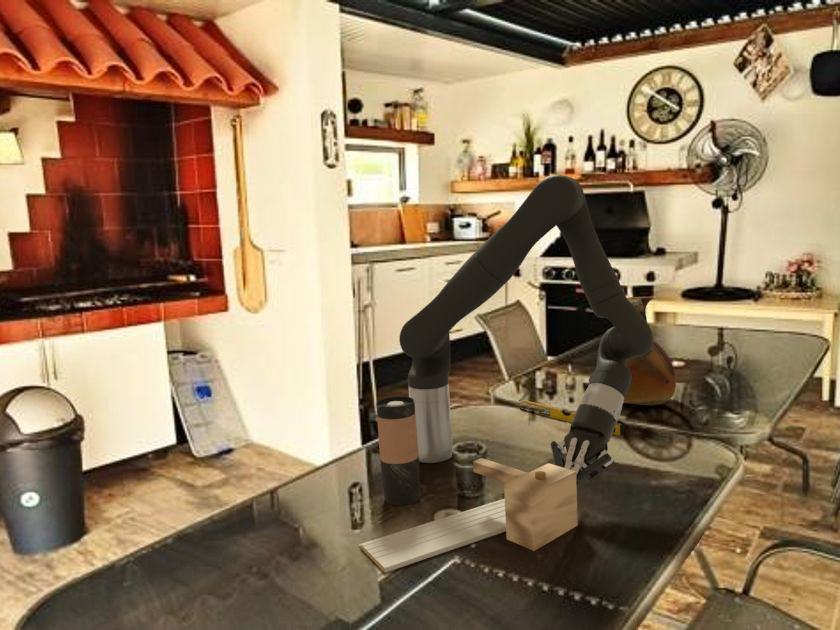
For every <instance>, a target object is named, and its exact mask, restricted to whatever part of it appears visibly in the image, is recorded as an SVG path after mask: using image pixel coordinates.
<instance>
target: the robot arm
mask: <svg viewBox="0 0 840 630" xmlns="http://www.w3.org/2000/svg"><path fill="white" fill-rule="evenodd" d="M590 214H591V213H590V211H589V207H588V202H587V199H586V196H585V192H584V189H583V187H582V185H581V184H580V183H579V181H578V180H576V179H575V178H573V177H570V176H567V175H563V174H551V175H549V176H546V177H544V178H542V179H541V180H540V181H539V182H538V183H537V184H536V185H535V186H534V188H533V189H532V191H530V193H529V195H527V197H526V198H525V200H523V202H522V204H521V205H520V206H519V207H518V209H517V210H516V211H515V212H514V213H513V215H512V216H511V217H510V218H509V219H508V220H507V221H506V222H505V223H504V224H503V225H502V226H501V227H500V228H499V229H497V230H496V231H495V232H494V233H492V235H491V236H490V237H489V238H488V239H486V240H485V241H484V243H483V244H482V245H480V246H479V247H478V248H477V249H476V251H474V253H473V254H472V255H471V256H470V257H469V258H468V259H467V260H466V261H465V262H464V263H463V264H462V266H461V267H459V269H458V270H457V271H456V273H454V275H453V276H452V277H451V278H450V279H449V280H448V281H447V283H446V284H445V285H444V287H442V289H441V290H440V291H439V293H438V294H436V296H435V297H434V298H433V299H432V300H431V301H430V302H429V303H428V304H427V305H425V306H424V307H423V308H422V309H421V310H420V311H419V312H417V313H416V314H415V315H413V316H412V317H410V319H409V320H407V321H406V322H405V323H404V325H403V326H402V327H401V330H400V333H399V339H398V341H399V344H400V348H401V350H402V352H403V353H404V354H405V355H406V356H408V357H410V358H412V363H411V367H410V369H409V371H408V374H407V385H408V397H410V398H413V399H414V403H415V415H416V428H417V441H418V454H419V463H424V464H425V463H426V464H435V463H441V462H445V461H447V460H448V461H449V460H450V459H451V458H452V457H453V456H452V450H453V436H452V434H453V432H452V418H451V417H452V415H451V402H450V386H449V385H450V384H449V383H450V382H449V374H450V370H451V338H450V337H451V336H450V331H451V330H452V329H453V328H454V327H455V326H456V325H457V324H458V323H459V322H460V321H461V320H463V319H464V318H466V317H467V316H468V315H470V314H471V313H472V312H474V311H476V310H477V309H478V308H480V307H481V306H482V305H483V304H485V302H487V301H488V300H489V299H491V297H493V296H495V294H496V293H498V291H499V290H500V289H501V288H503V287H504V286H505V284H507V283H508V282H509V281H510V279H511V278H512V277H513V276H514V275H515V273H516V272H517V270H518V269H519V268H520V266H521V265H522V263H523V262H524V260H525V258H526V257H527V255H528V254H529V253H530V251H531V250H532V248H533V247H534V246H535V245H536V244H537V243H538V242H539V241H540V240H541V239H542V238H543V237H544V236H546V235H547V234H548V233H550V232H551V230H553V229H554V228H555V227H556V228H557V229H558V230H559V232H560V233H561V235H562V236H563V239H564V240H565V242H566V245H567V246H568V249H569V252H570V254H571V258H572V262H573V265H574V268H575V272H576V276H577V279H578V282H579V284H580V287H581V289H582V291H583V293H584V295H585V297H586V300H587V302H588V304H589V306H590V309H591V310H592V312H593V314H594V315H595V316H596V317H597V318H600V319H607V320H609V321H610V322H611V323H612V325H613V326H612V327H610V328H608V329H607V330H606V331H605V333H603V335H602V336H601V338H600V341H599V344H598V350H597V357H596V368H595V370H594V371H595V372H594V371H593V372H594V374H593V376H592V379H591V381H590V382H589V384H588V387H587V388H586V390H585V391H584V393H583V394H582V395H583V396H582V397H581V399H580V402H579V404H578V407H577V409H576V411H575V413H576V414H575V416H574V418H573V421H572V423H571V422H570V423H571V424H570V428H569V432H568V433H567V434H566V435H565V436H564V438H563V440H561V441H559V442H557V441H555V440H553V441H551V442H550V448H551V452H552V455H553V459H554V461H555V462H554V463H555V465H556V466H560V467H563V468H566V469H570V470H573V471H576V486H577V489H578V487H579V485H580V482H582V481H584V480H587V481H590V482H591V481H592V480H593V479H595V478H596V477H599V475H601V474H602V473H604V472H605V471H607V470H608V469H610V468H611V467H613V466H614V465H615V460H614V459H613V457H612V456H611V455H610V454H609V452H608V450H609V449H608V448H609V447H608V443H609V442H610V441H611V438H612V436H613V434H612V433H613V431H614V428H615V426H616V423H618V420H619V419H620V417H621V416H620V415H621V412H622V409H623V405H624V403H623V402H624V398H625V396H626V393H627V391H628V388H629V386H630V383H631V379H632V374H631V371H630V370H629V368H628V367H626V366H625V364H626V362H627V361H628V359H631V358H635V357H639V356H643V355H645V354H647V353H648V352H649V351H650V350H651V349H652V346H653V340H654V334H653V331H652V329H651V327H650V325H649V323H648V321H647V322H646V320H645V319H644V318H643V317H642V315H641V314H640V313H639V312H638V311H637V309H636V308H635V307H634V306H633V304H632V303H631V302H630V301H629V300H628V299H627V298H628V297H627V296H626V293H625V291H624V289H623V287H622V285H621V282H620V281H619V279H618V277H617V274H616V273H615V271H614V268H613V266H612V264H611V263H610V261H609V259H608V256H607V254H606V252H605V251H604V249H603V246H602V243H601V242H600V239H599V237H598V234H597V232H596V229H595V227H594V223H593V221H592V218H591V215H590ZM619 416H620V417H619ZM618 418H619V419H618ZM564 454H566V456H564Z"/></svg>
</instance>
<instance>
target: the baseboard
mask: <svg viewBox="0 0 840 630" xmlns="http://www.w3.org/2000/svg"><path fill="white" fill-rule="evenodd" d="M500 496H501V499H499V500H496V501H492V502H490V503H486V504H483V505H480V506H477V507H474V508H471V509H470V508H469V509H467V510H464V511H460V512H458V513H454V514H452V515H448V516H444V517H442V518H439V519H435V520H431V521H429V522H426V523H422V524H420V525H417V526H413V527H410V528H407V529H403V530H401V531H397V532H395V533H391V534H387V535H385V536H382V537H378V538H375V539H371V540H370V541H369V540H368V541H366V542H362V543H360V544H358V547H359V548H360V549H361V550H362V551H363V552H364V554H366V555H367V556H368V557H369V558H370V559H371V560H372V561H373V562H374V563H375V564H376V565H377V566H378V567H379V569H381V570H382V571H383V573H389V572H391V571H394V570H397V569H398V570H399V569H400V568H403V567H406V566H408V565H412V564H415V563H418V562H420V561H424V560H427V559H428V558H432V557H436V556H438V555H441V554H443V553H448V552H450V551H452V550H456V549H458V548H461V547H464V546H467V545H470V544H474V543H475V542H478V541H479V542H480V541H482V540H484V539H488V538H491V537H493V536H497V535H499V534H502V533H505V532H506V515H505V494H504V493H501V494H500Z"/></svg>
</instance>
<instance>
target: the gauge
mask: <svg viewBox="0 0 840 630" xmlns="http://www.w3.org/2000/svg"><path fill="white" fill-rule="evenodd" d="M472 471H473V473H475V474H479V475H481V482H482V484H485V483H487V477H488V478H490V479H493V480H496V481H498V482H502V483H503V489H504V491H503V492H504V493H503V494H504V499H505V515H506V531H505V532H506V534H505V535H506V540H507V541H510V542H513V543H514V544H517V545H519V546H522V547H523V548H526V549H528V550H531V551H533V552H535V551H537V550H538V549H540V548H542V547H544V546H545V545H547V544H549V543H550V542H552V541H554V540H555V539H557V538H559V537H560V536H562V535H564V534H566V533H567V532H569V531H571V530H572V529H574V528H575V527H577V526H578V525H579V523H578V522H579V521H578V495H577V493H578V491H577V490H578V488H577V486H576V471H573V470H570V469H566V468H563V467H560V466H556V464H552V463H549V462H548V463H546V464H543V465H541V466H539V467H537V468H535V469H534V470H533V469H532V470H531V471H529V472H526V471H523V470H520V469H517V468H514V467H510V466H507V465H504V464H501V463H499V462H495V461H492V460H489V459H487V458H486V459H485V458H482V457H480V458H478V459H476V460H473V461H472Z"/></svg>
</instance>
